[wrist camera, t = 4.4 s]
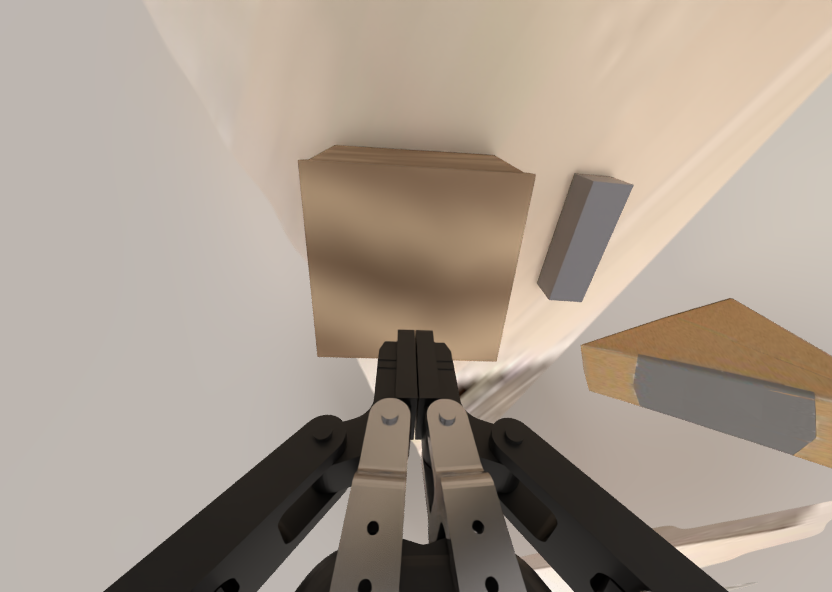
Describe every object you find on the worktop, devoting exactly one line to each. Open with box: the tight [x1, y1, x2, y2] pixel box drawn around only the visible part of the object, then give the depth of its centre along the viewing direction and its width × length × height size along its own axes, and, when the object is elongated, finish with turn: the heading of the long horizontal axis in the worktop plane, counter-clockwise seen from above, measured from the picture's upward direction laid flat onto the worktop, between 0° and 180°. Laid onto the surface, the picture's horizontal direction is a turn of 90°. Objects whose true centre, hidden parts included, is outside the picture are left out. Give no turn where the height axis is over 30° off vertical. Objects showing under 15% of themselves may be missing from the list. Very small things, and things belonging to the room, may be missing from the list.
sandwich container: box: [581, 298, 832, 468], centre depth 28 cm, size 9×15×15 cm, turn 113°
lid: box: [298, 160, 536, 361], centre depth 19 cm, size 12×12×1 cm
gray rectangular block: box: [537, 173, 633, 302], centre depth 26 cm, size 10×3×3 cm, turn 175°
